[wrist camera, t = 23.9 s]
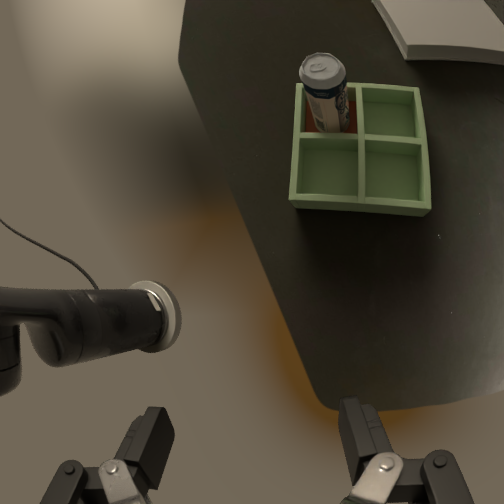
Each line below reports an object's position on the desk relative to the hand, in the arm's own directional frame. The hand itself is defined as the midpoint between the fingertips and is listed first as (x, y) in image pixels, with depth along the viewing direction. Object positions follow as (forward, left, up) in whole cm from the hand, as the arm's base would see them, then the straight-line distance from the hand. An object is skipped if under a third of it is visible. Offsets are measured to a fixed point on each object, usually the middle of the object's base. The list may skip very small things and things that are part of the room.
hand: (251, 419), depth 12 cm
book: (+22, +51, -25) cm, 61 cm away
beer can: (0, +27, -24) cm, 36 cm away
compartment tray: (+4, +23, -25) cm, 34 cm away
